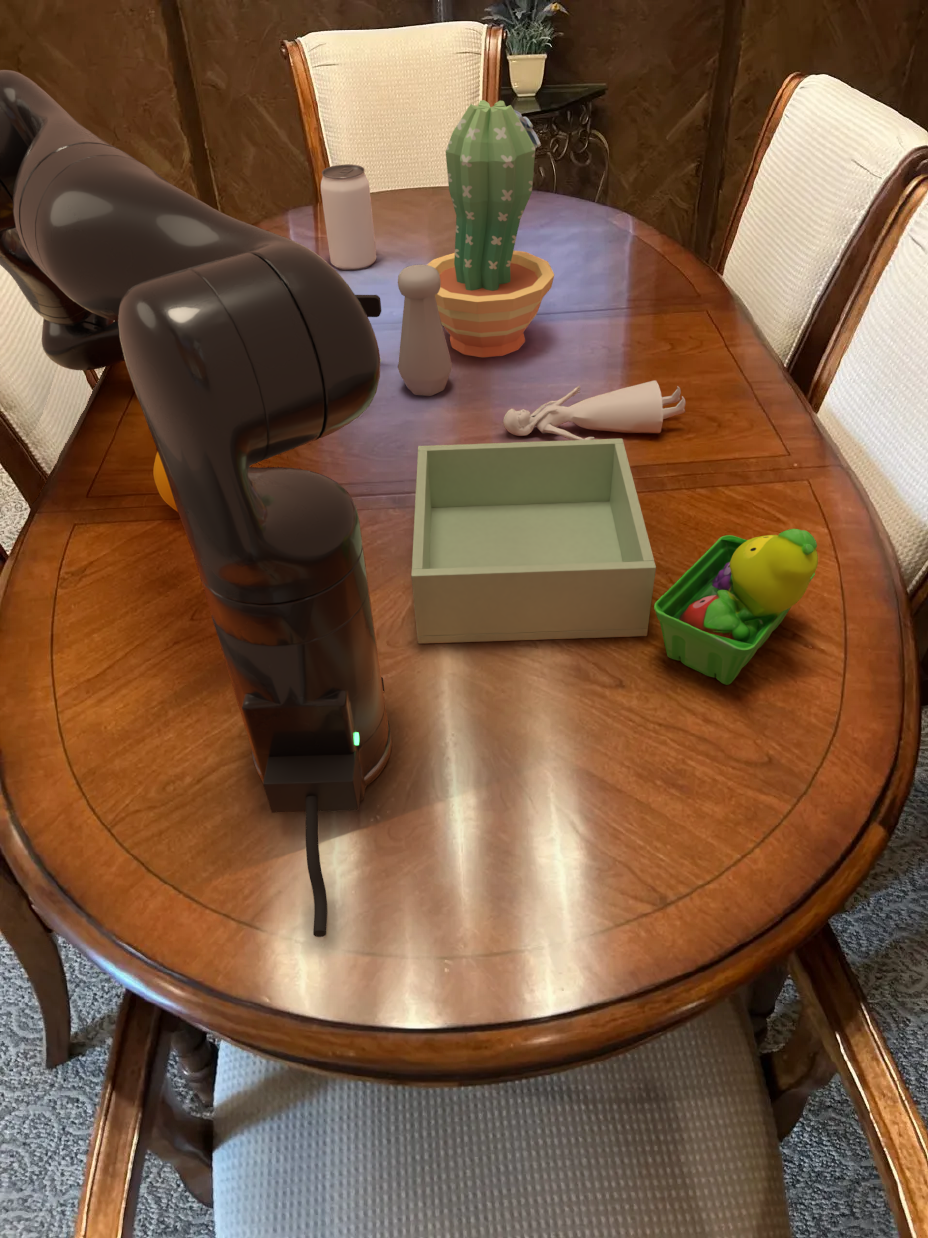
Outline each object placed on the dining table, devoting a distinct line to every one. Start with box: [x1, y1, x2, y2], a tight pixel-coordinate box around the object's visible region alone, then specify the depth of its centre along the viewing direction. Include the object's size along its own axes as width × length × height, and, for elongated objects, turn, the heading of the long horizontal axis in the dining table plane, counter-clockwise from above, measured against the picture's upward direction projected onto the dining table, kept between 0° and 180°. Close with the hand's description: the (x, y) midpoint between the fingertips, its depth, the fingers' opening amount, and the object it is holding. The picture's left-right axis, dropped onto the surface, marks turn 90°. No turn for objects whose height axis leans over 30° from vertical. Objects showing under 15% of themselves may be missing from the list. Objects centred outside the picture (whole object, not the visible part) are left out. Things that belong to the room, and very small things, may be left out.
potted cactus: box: [427, 99, 555, 358], centre depth 100 cm, size 15×15×25 cm
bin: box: [410, 438, 657, 644], centre depth 74 cm, size 18×18×7 cm
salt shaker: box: [397, 264, 453, 397], centre depth 96 cm, size 6×6×13 cm
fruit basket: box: [653, 528, 819, 686], centre depth 65 cm, size 11×9×11 cm
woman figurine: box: [502, 379, 686, 440], centre depth 92 cm, size 12×4×18 cm
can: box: [320, 163, 377, 271], centre depth 124 cm, size 6×6×12 cm
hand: (372, 322), depth 96 cm, fingers open, 8 cm apart
